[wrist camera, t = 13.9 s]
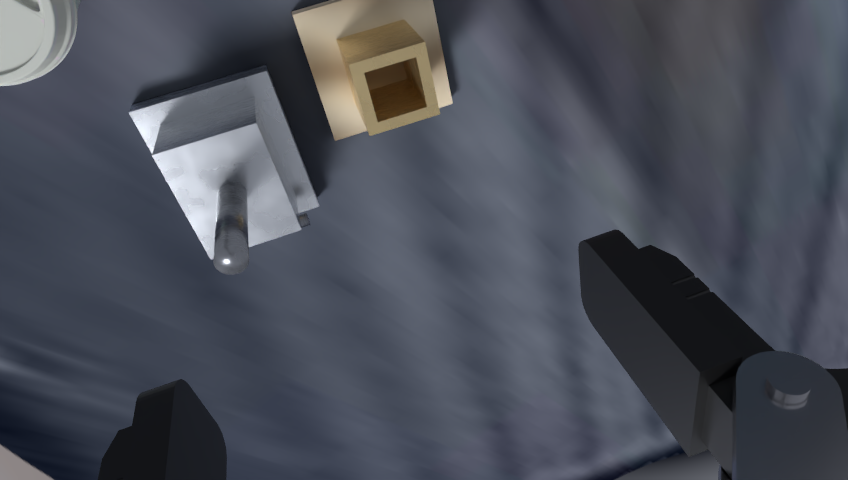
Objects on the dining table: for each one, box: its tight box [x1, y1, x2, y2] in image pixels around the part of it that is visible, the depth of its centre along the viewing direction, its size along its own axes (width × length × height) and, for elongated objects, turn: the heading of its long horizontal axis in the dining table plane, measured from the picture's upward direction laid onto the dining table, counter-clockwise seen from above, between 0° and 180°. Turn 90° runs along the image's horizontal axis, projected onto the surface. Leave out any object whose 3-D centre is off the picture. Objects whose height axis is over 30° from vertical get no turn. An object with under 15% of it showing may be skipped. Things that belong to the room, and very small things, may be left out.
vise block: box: [129, 65, 319, 275], centre depth 40 cm, size 12×10×14 cm
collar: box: [336, 19, 440, 136], centre depth 42 cm, size 5×5×6 cm
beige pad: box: [292, 0, 453, 141], centre depth 44 cm, size 10×10×1 cm
